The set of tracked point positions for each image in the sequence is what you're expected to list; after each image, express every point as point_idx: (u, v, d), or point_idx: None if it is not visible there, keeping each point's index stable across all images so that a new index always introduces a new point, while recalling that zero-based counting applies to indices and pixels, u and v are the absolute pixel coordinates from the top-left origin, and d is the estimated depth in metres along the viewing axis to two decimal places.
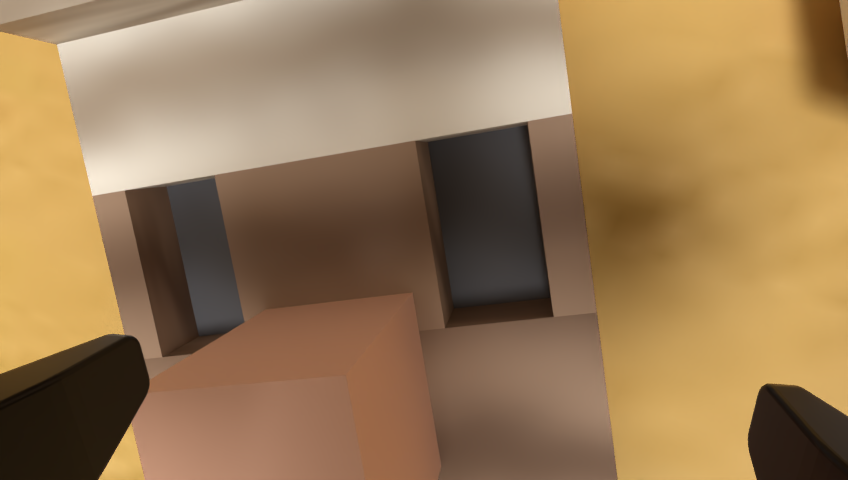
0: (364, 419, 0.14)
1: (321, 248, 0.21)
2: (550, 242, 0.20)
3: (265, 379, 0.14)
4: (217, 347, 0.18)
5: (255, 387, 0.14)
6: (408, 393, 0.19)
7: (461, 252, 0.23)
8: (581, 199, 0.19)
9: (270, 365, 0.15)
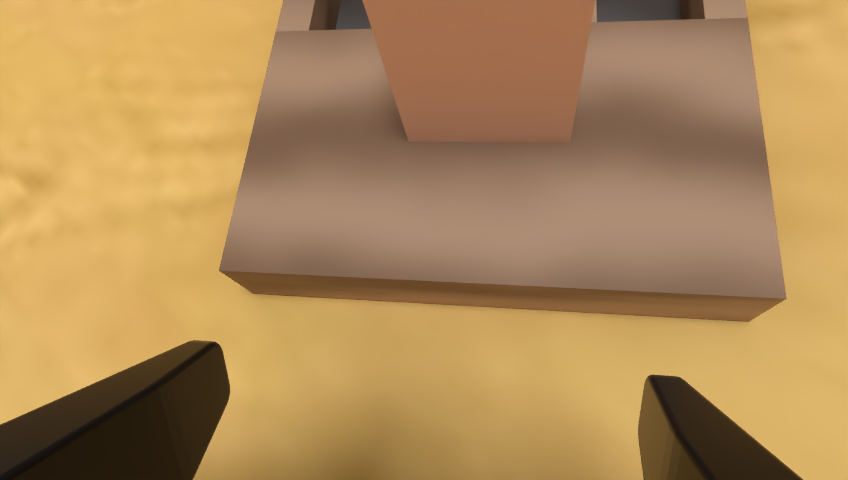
0: None
1: None
2: None
3: None
4: None
5: None
6: None
7: None
8: None
9: None
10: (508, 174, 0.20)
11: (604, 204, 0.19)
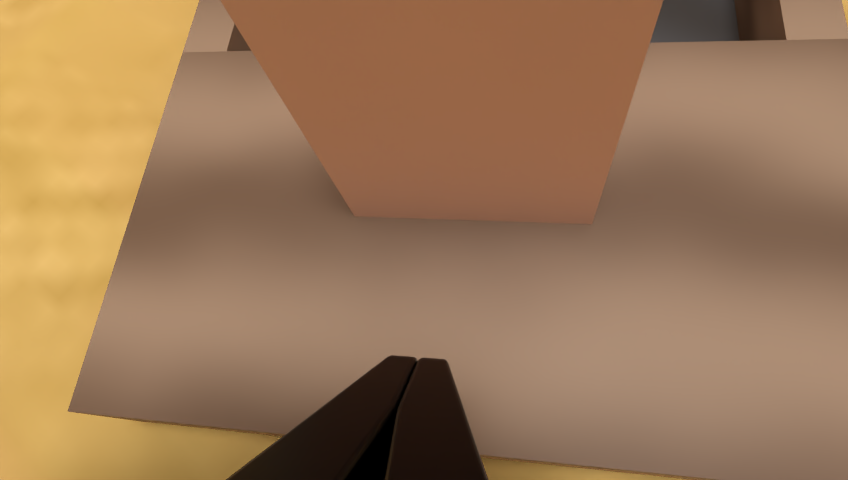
0: None
1: None
2: None
3: None
4: None
5: None
6: None
7: None
8: None
9: None
10: (500, 272, 0.14)
11: (646, 326, 0.13)
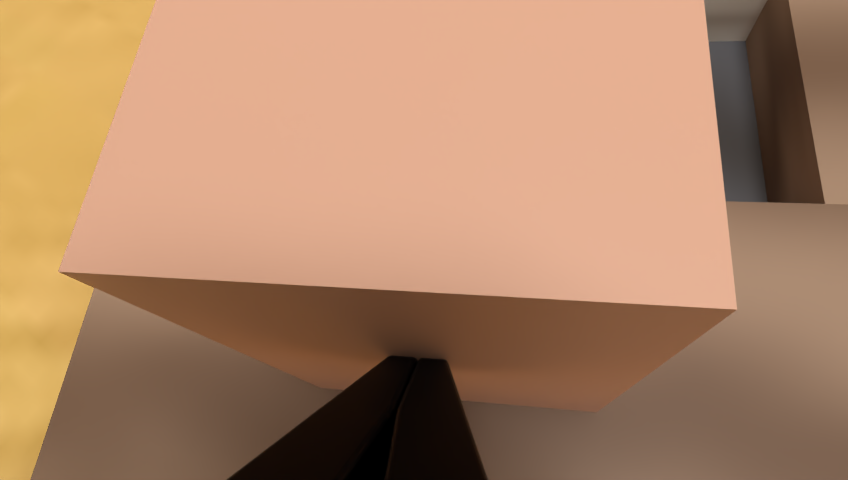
0: None
1: None
2: (817, 102, 0.14)
3: None
4: None
5: None
6: None
7: None
8: None
9: None
10: None
11: None
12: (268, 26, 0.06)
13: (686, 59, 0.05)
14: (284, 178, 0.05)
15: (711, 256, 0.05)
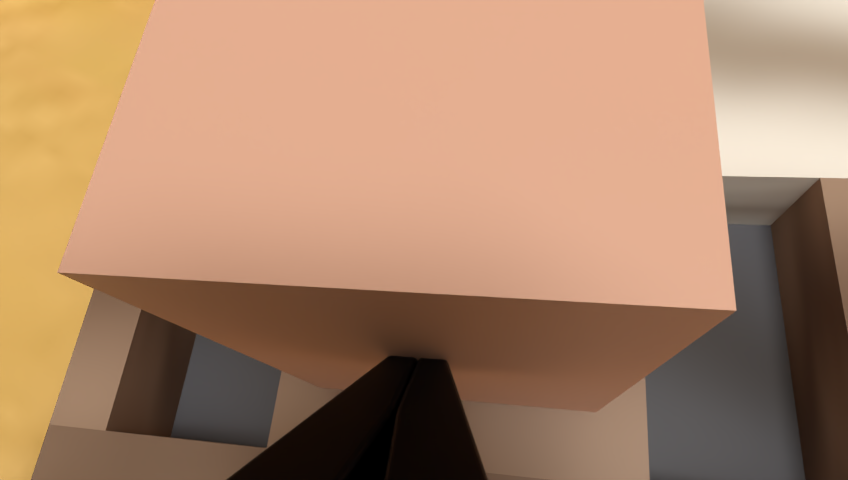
0: None
1: None
2: None
3: None
4: None
5: None
6: None
7: (649, 390, 0.14)
8: None
9: None
10: None
11: None
12: (268, 27, 0.06)
13: (685, 58, 0.05)
14: (284, 179, 0.05)
15: (710, 257, 0.05)
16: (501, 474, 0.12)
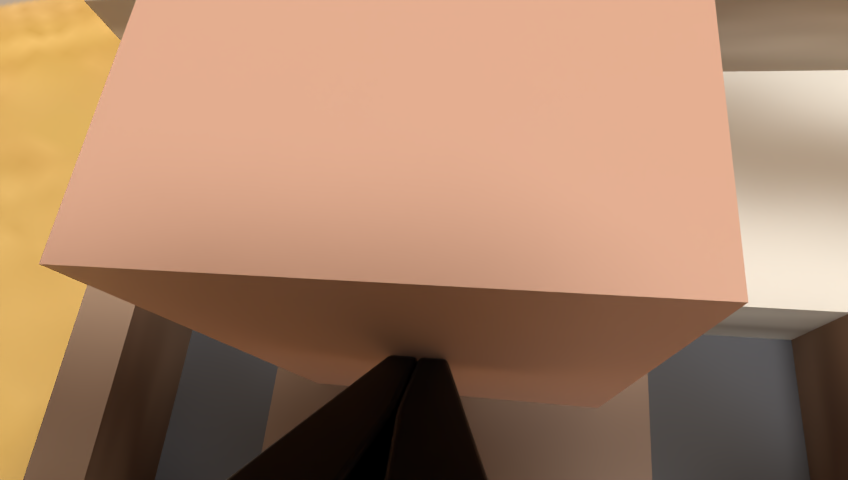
0: None
1: None
2: None
3: None
4: None
5: None
6: None
7: None
8: None
9: None
10: None
11: None
12: (259, 10, 0.06)
13: (693, 40, 0.05)
14: (275, 167, 0.05)
15: (721, 247, 0.04)
16: None
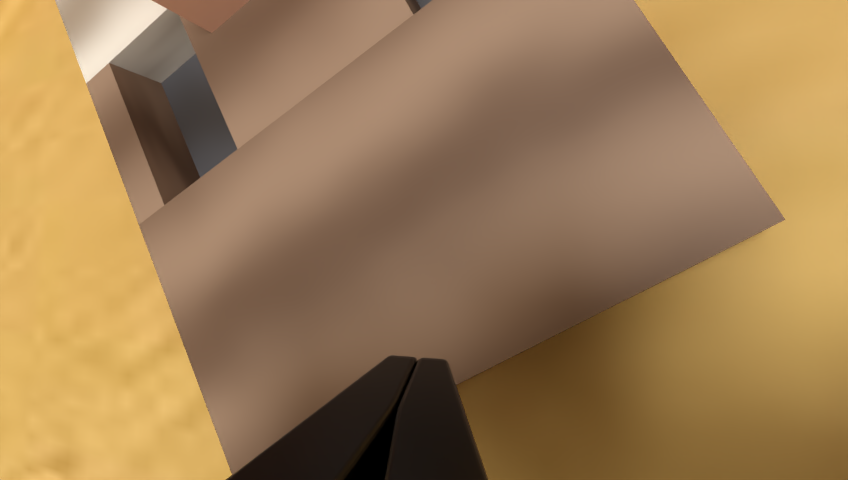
0: None
1: (275, 10, 0.20)
2: None
3: None
4: None
5: None
6: None
7: None
8: None
9: None
10: (427, 246, 0.18)
11: (537, 223, 0.16)
12: None
13: None
14: None
15: None
16: (345, 67, 0.19)
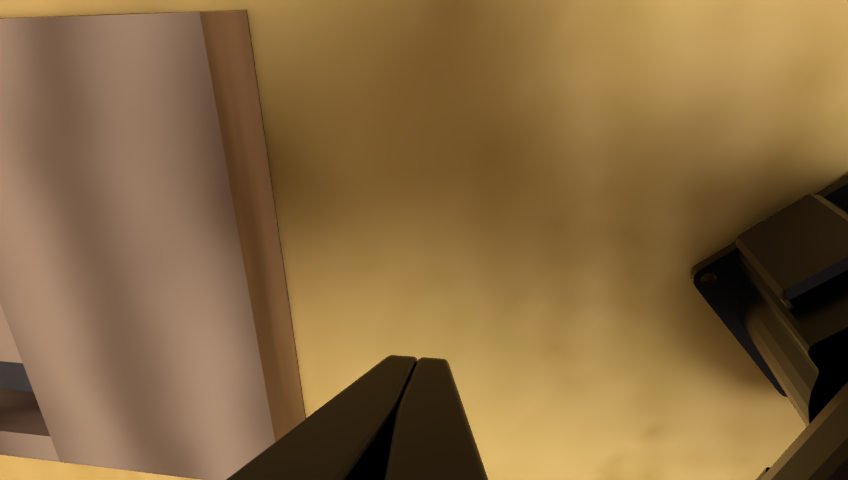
0: None
1: None
2: None
3: None
4: None
5: None
6: None
7: None
8: None
9: None
10: (141, 268, 0.21)
11: (147, 183, 0.19)
12: None
13: None
14: None
15: None
16: None
